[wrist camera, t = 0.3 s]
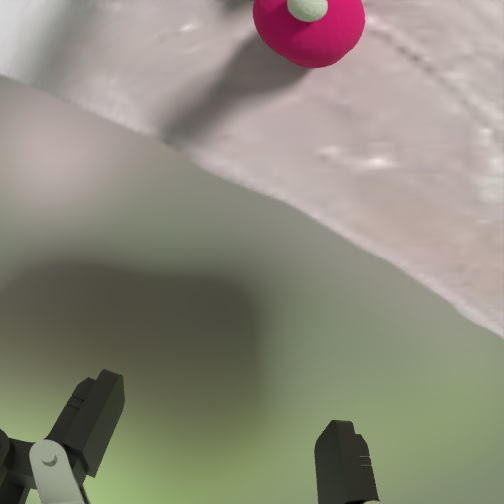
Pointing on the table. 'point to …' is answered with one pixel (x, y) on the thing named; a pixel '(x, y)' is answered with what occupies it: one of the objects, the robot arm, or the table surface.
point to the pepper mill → (310, 28)
